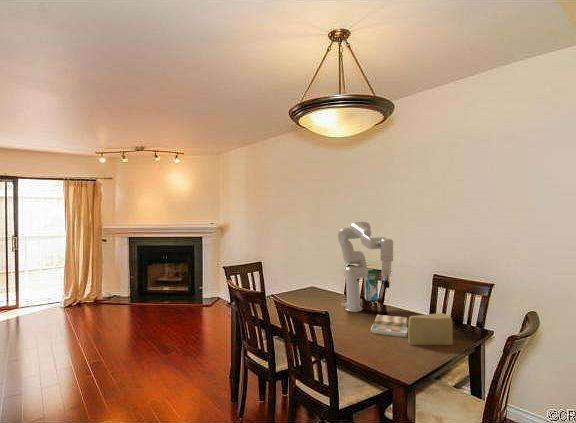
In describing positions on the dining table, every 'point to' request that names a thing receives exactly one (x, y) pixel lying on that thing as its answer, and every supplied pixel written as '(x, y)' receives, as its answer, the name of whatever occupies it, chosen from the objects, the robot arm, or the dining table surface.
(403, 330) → the tray
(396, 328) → the tile
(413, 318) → the tan rounded block
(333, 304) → the dining table surface
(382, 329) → the tile
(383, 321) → the white food package
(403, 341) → the dining table surface
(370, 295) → the milk carton
